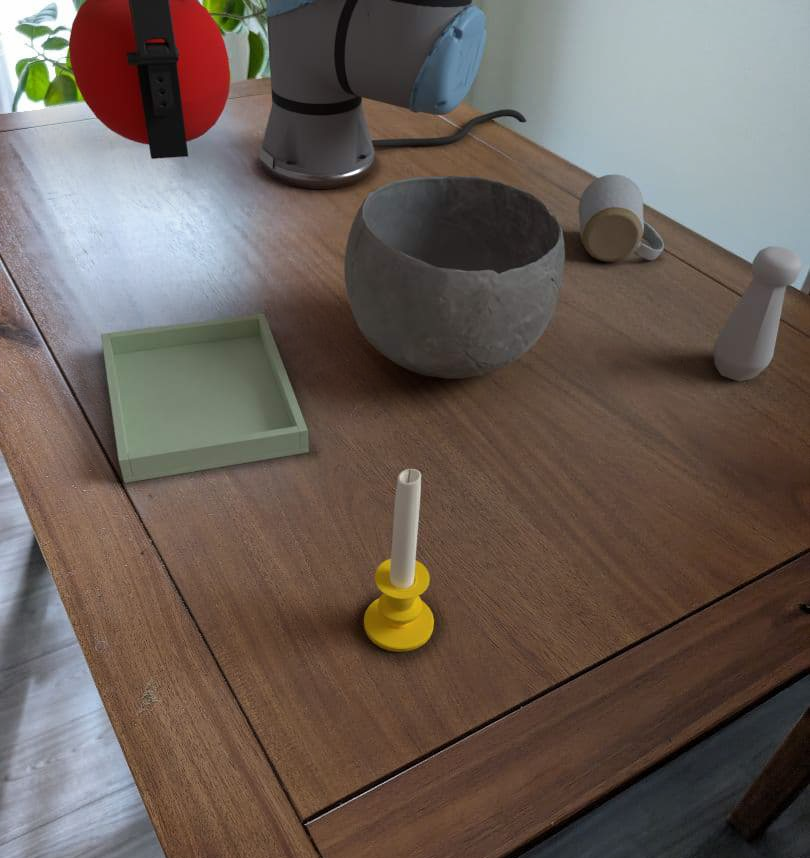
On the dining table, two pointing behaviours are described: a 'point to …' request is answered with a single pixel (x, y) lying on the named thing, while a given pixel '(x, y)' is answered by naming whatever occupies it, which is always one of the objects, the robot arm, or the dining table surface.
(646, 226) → the ceramic mug
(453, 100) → the robot arm
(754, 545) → the dining table surface
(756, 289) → the salt shaker
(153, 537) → the dining table surface
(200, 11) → the tomato
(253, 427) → the tray
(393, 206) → the bowl
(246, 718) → the dining table surface
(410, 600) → the candle
